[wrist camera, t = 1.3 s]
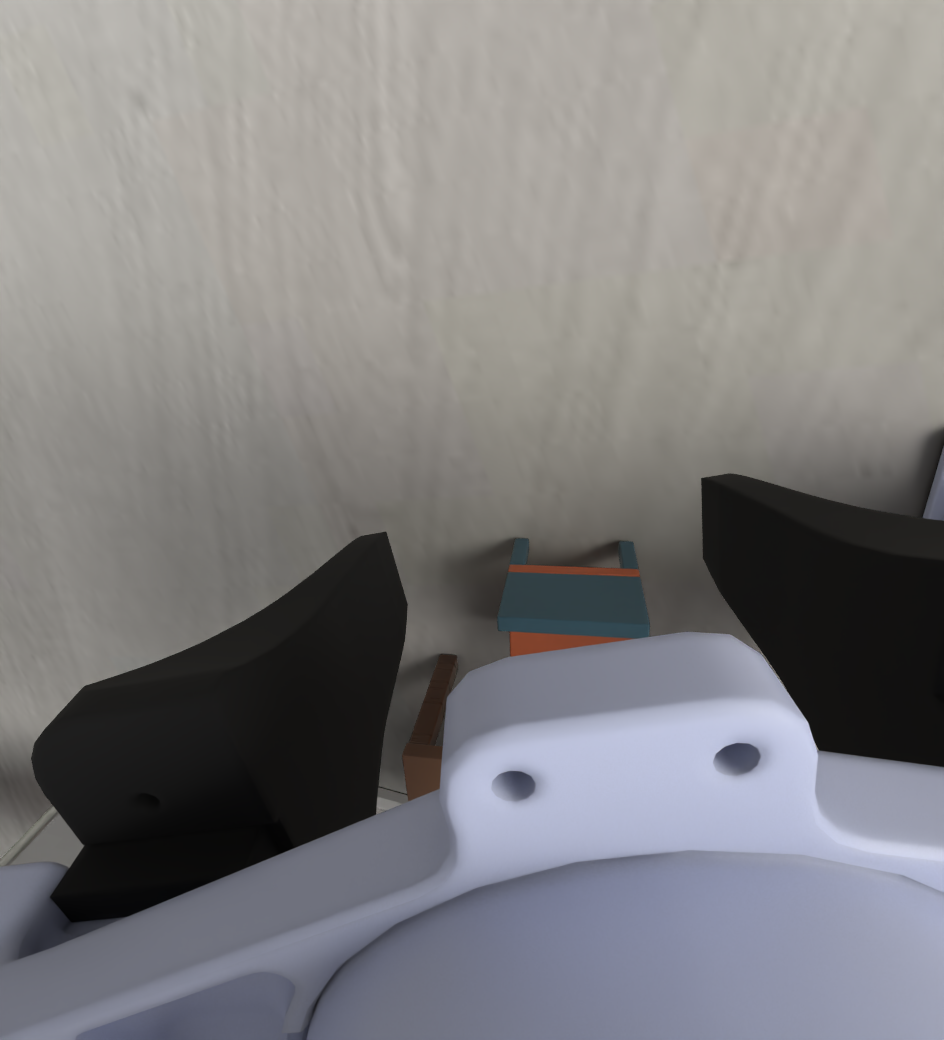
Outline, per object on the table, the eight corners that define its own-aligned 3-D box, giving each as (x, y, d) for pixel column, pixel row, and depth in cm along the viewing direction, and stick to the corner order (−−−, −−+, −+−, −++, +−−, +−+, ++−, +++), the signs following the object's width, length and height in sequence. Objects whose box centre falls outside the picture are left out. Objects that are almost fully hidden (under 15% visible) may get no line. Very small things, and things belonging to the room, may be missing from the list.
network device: (522, 827, 32) (453, 1536, 14) (494, 916, 36) (410, 1564, 18) (112, 713, 34) (-402, 1206, 16) (126, 808, 38) (-279, 1294, 20)
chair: (633, 540, 24) (650, 624, 18) (626, 631, 26) (640, 733, 20) (515, 537, 25) (496, 616, 19) (517, 625, 26) (501, 721, 21)
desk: (713, 670, 26) (754, 790, 20) (692, 808, 29) (722, 945, 24) (438, 652, 28) (401, 755, 22) (450, 783, 32) (421, 901, 26)
